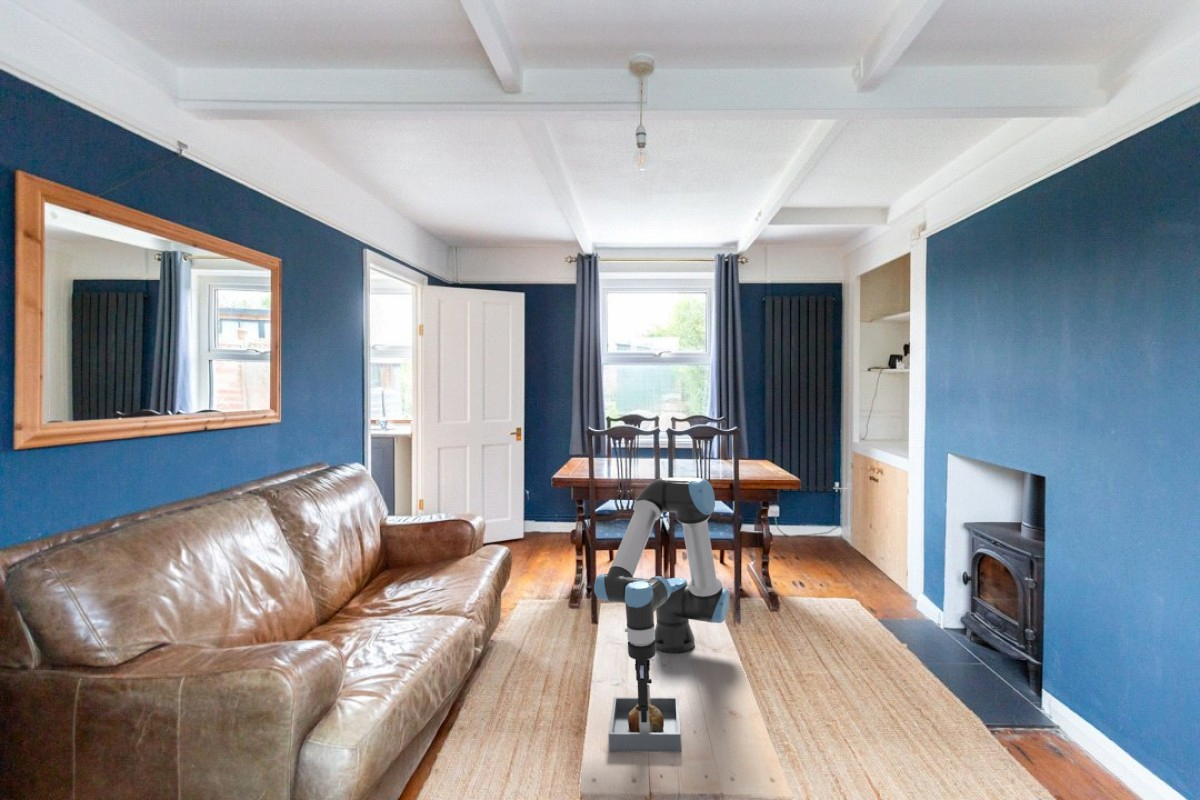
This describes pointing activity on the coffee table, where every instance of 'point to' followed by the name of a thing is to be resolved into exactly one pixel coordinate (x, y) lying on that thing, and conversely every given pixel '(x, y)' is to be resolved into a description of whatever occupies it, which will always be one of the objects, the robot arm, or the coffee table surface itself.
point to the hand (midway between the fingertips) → (645, 719)
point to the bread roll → (654, 719)
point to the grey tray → (639, 740)
